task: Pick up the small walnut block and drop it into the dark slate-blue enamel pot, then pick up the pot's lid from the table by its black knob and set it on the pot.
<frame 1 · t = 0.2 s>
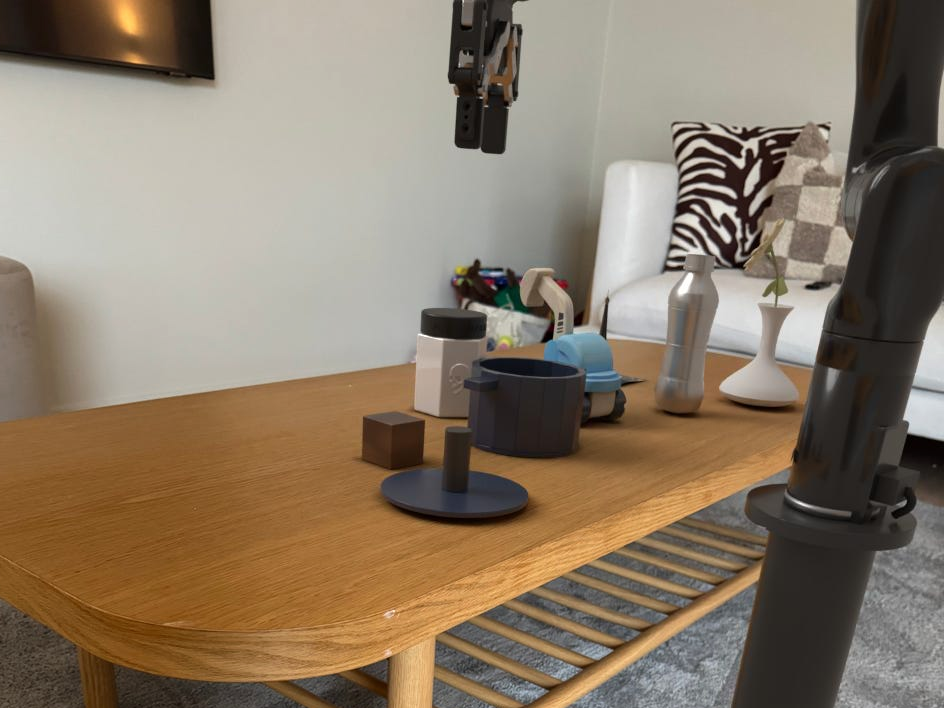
hand: (480, 151, 84), 29 cm above the table, tool pointing down, fingers open, 8 cm apart
eiffel tower figurine: (594, 382, 148), on the table
flower in vase: (753, 406, 140), on the table
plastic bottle: (675, 413, 131), on the table
block: (392, 461, 99), on the table
jar: (448, 412, 122), on the table
lid: (454, 494, 88), point 1 cm above the table
pot: (521, 442, 110), on the table
toy excavator: (561, 414, 126), on the table
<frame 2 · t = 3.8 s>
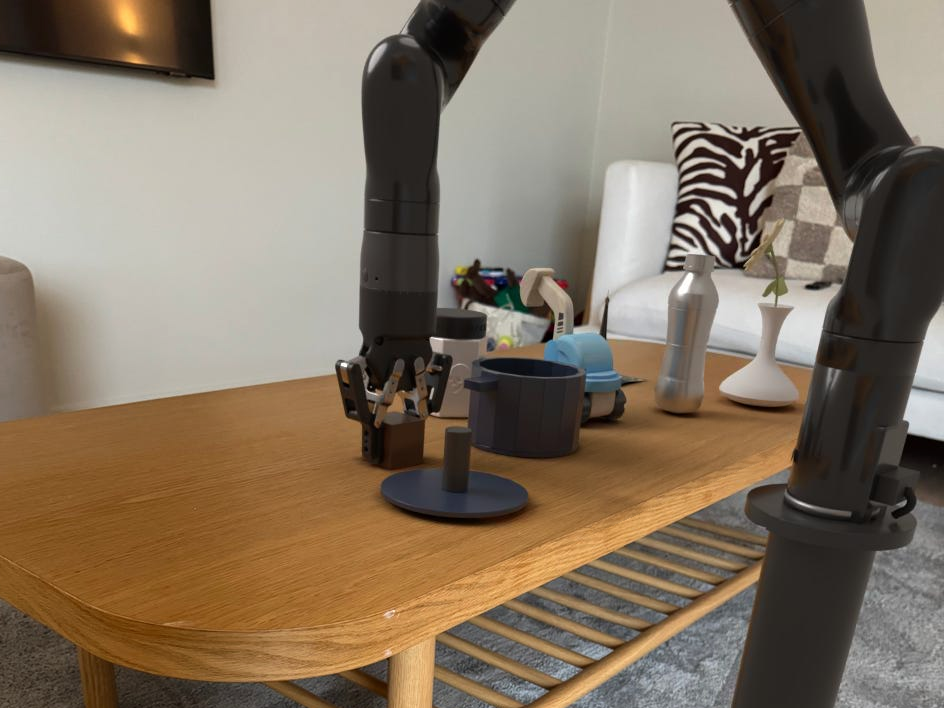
hand: (392, 457, 99), 0 cm above the table, tool pointing down, fingers closed on block, 4 cm apart
block: (392, 461, 99), on the table, touching gripper
everything else where it was.
when the fingers open (7 cm above the table, at t = 10.1 s): block drops 6 cm, resting on pot.
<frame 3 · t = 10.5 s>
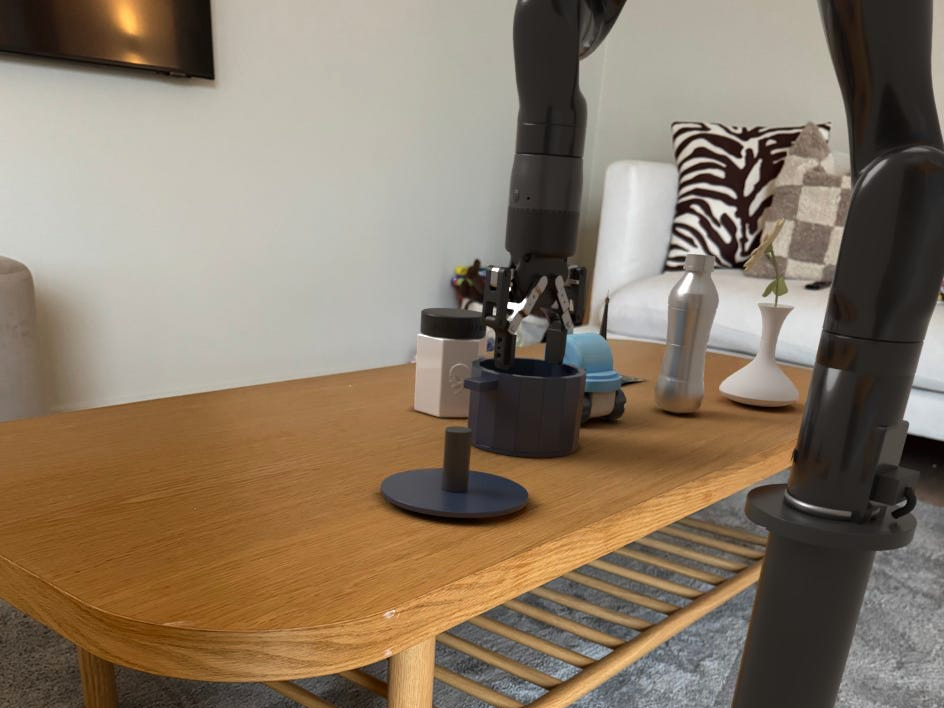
hand: (529, 366, 106), 9 cm above the table, tool pointing down, fingers open, 8 cm apart
block: (521, 438, 109), resting on pot
everything else where it was.
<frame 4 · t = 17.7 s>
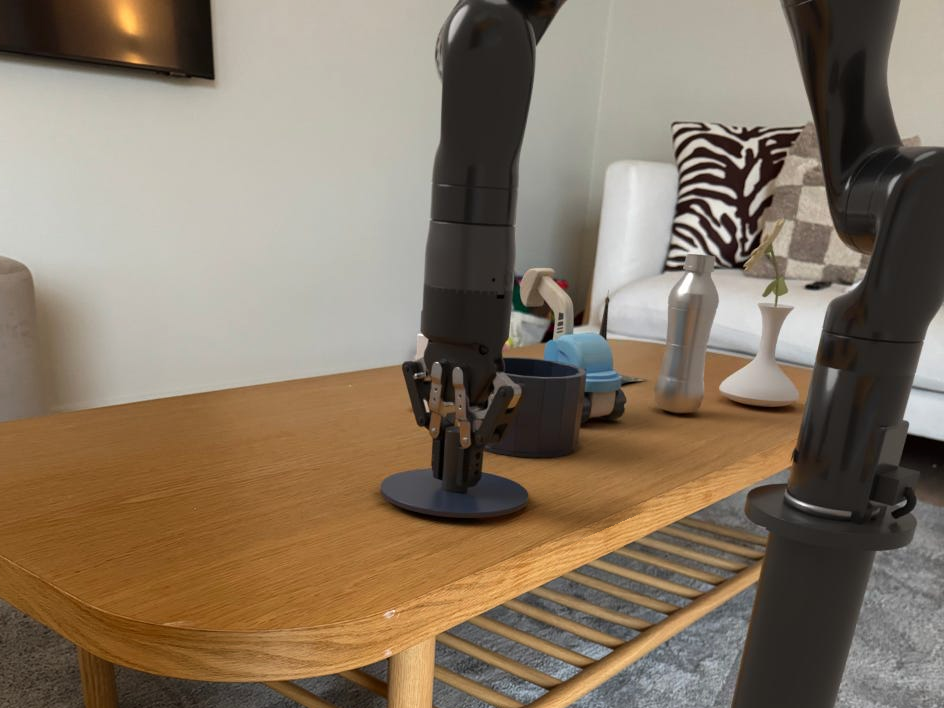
hand: (455, 481, 87), 2 cm above the table, tool pointing down, fingers closed on lid, 2 cm apart
lid: (454, 494, 88), point 1 cm above the table, touching gripper
everything else where it was.
when the fingers open (10 cm above the table, at t = 24.9 s): lid stays where it is, resting on pot.
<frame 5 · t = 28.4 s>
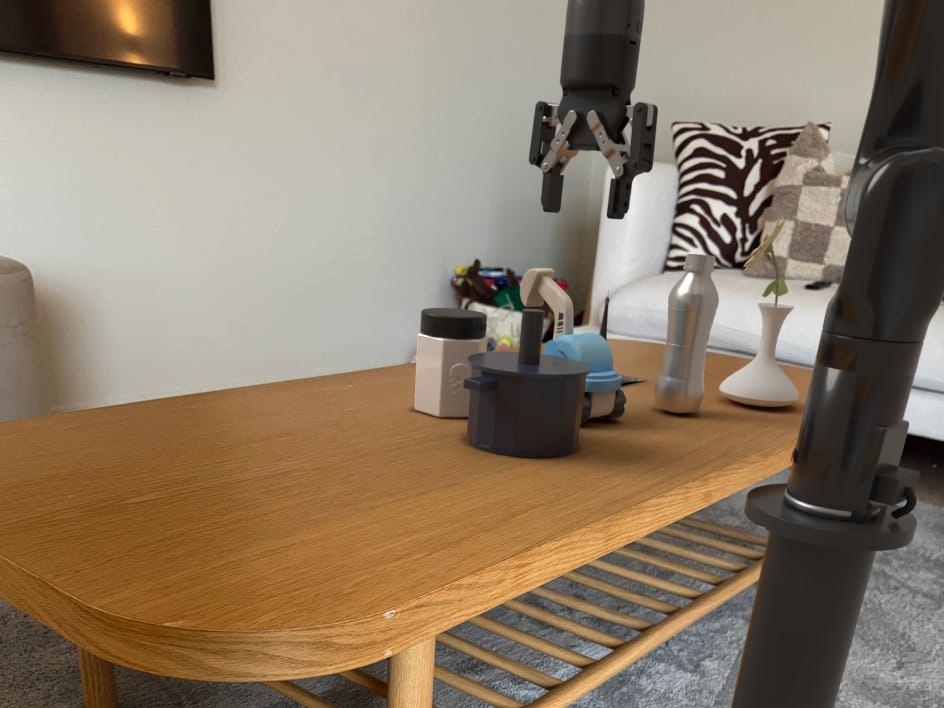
hand: (582, 215, 101), 24 cm above the table, tool pointing down, fingers open, 8 cm apart
lid: (528, 367, 106), point 8 cm above the table, touching pot
everything else where it was.
at the end: block inside the target area in the pot (0.1 cm from its centre), point 0.5 cm above the pot's base; lid 0.1 cm off-centre on the pot, point 8.5 cm above the pot's base; lid tilted 0° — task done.
